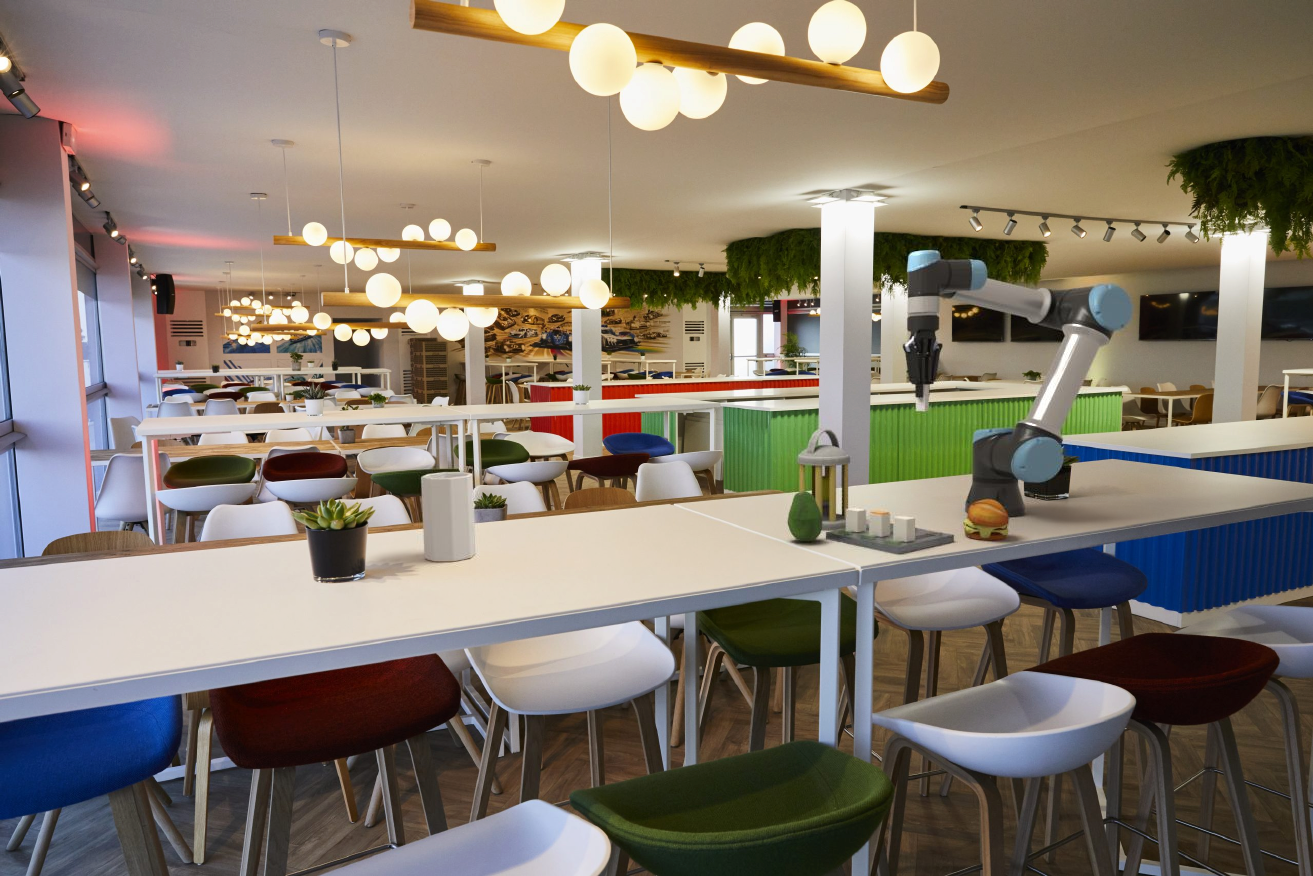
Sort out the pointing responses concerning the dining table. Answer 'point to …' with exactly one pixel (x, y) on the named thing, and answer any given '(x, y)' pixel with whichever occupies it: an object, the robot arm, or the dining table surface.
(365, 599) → the dining table surface
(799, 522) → the avocado
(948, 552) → the dining table surface
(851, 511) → the toggle low
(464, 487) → the cup
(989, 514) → the cheeseburger
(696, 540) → the dining table surface
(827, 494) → the lantern
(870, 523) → the toggle mid
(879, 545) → the panel
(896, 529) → the toggle high
